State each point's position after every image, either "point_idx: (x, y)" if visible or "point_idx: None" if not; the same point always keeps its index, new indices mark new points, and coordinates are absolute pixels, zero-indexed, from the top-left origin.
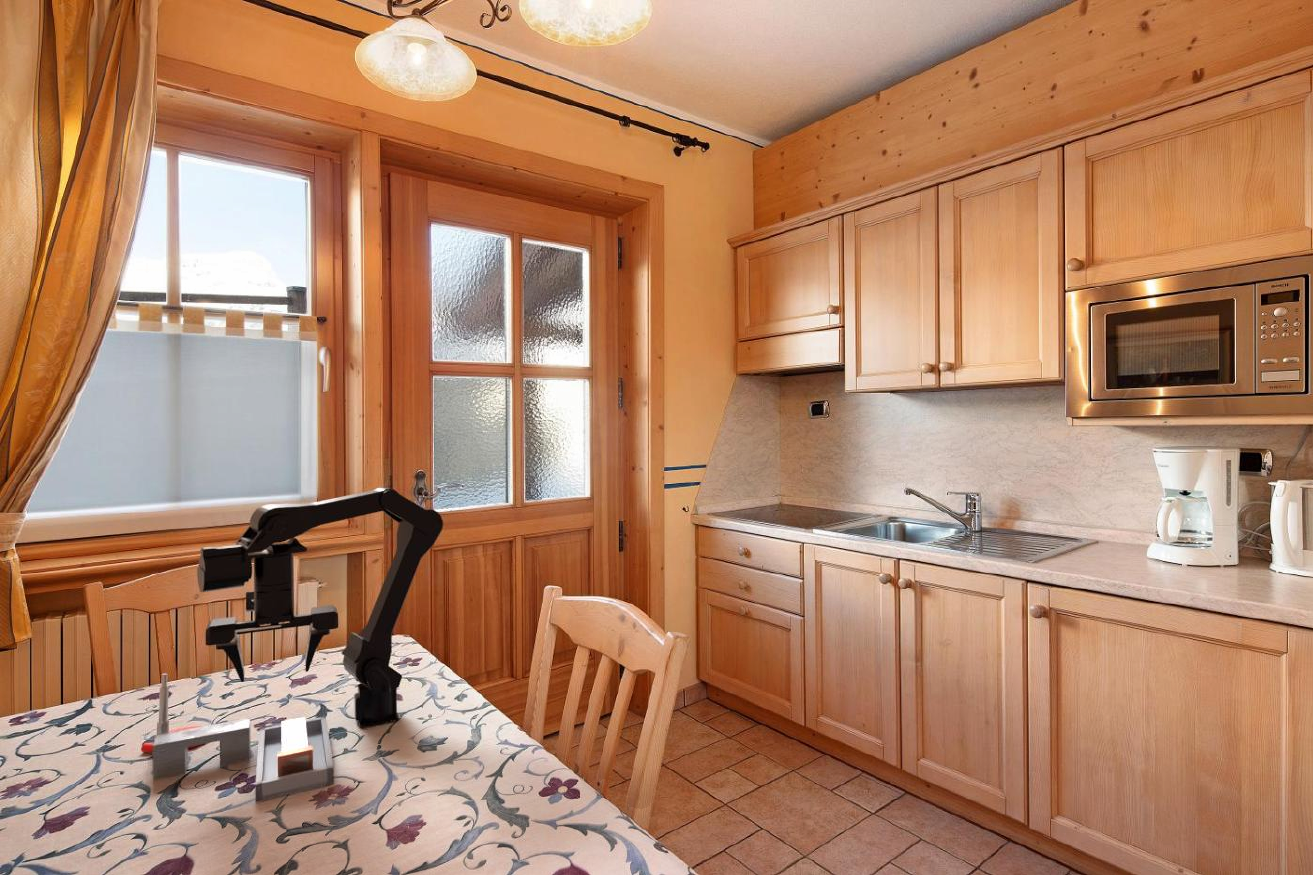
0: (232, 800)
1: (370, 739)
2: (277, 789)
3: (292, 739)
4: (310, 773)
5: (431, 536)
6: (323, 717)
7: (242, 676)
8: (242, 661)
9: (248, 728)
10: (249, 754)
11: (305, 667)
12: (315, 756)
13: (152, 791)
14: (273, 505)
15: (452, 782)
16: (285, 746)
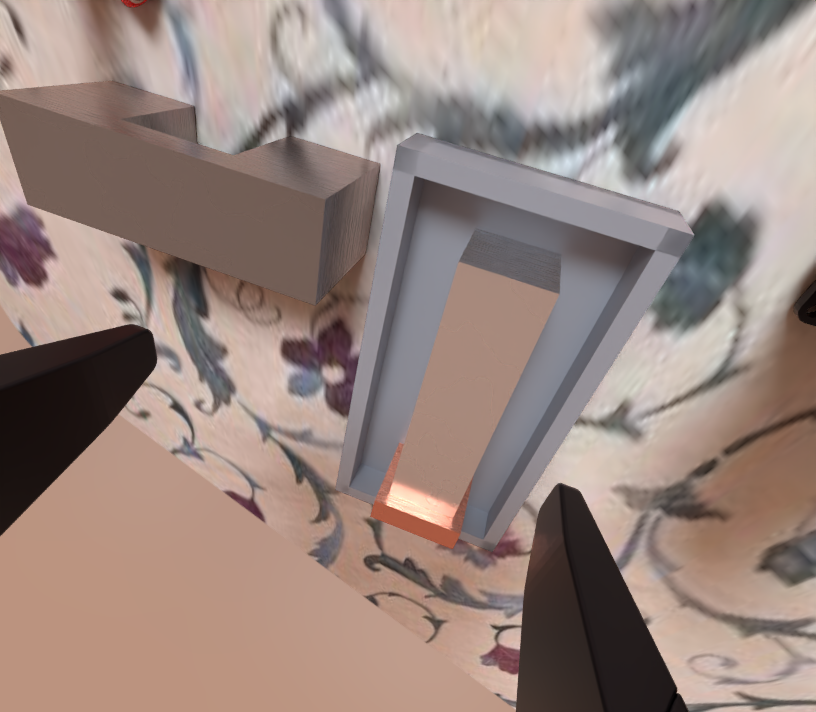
0: (313, 420)
1: (730, 412)
2: None
3: (440, 437)
4: None
5: None
6: (676, 240)
7: (118, 403)
8: (2, 437)
9: (314, 303)
10: (358, 258)
11: (543, 527)
12: (517, 410)
13: (148, 248)
14: None
15: (673, 660)
16: (410, 459)
